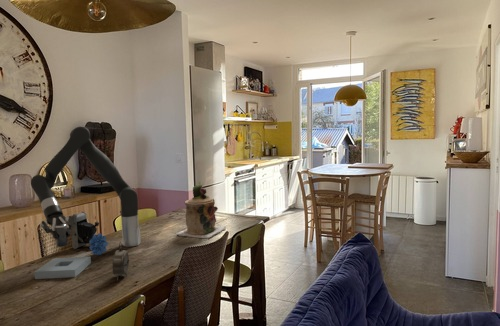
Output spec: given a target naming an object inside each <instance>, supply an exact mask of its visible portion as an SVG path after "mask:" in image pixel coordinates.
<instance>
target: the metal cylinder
mask: <svg viewBox="0 0 500 326" xmlns="http://www.w3.org/2000/svg"><path fill="white" fill-rule="evenodd" d="M66 224H67V222H66V223H59V224H55V231H56V233H57V235H58V239H57V240H56V239H55V245H56V247H65V246H68V237H67V227H66Z"/></svg>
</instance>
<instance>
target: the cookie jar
mask: <svg viewBox="0 0 500 326" xmlns="http://www.w3.org/2000/svg"><path fill="white" fill-rule="evenodd" d="M192 194H193V197H192V198H190V199H187V200H185V202H184V204H185V210H186V211H185V226H186V228H185V229H184V230H181V231H178V232H176V233H175V234H176V236H179V237H188V238H198V239H199V238H201V239H209V238H211V237H213V236H215V235H217V234H219V233H220V232H222V231H224V230H226V228H227V225H216V222H217V219H216V212H217V211H218V209H219V208H218V207H217V206H215V199H214V198H211V197H210V196H209V195H207V189H206V188H204V187H203V183H202V182H201V181H200V182H199V183H197V185H194V186H193V187H192Z"/></svg>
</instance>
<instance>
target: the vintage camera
mask: <svg viewBox="0 0 500 326" xmlns="http://www.w3.org/2000/svg"><path fill="white" fill-rule="evenodd" d="M71 217H72V227H71V229H70V231H71V246H72V248H73V249H74V250H77V249H79V248H80V247H84V246H85V245H87V244H88V245H91V244H90V243H89V242H90V240H91V239H92V237H93V235H96V233H97V231H98V228H97V227H99V224H100V222H98V221H95V222H94V224H93V223H91V222H88V220H87V219H88V217H87V213H86V212H85V211H82V212H80V213H76V214H72V215H71Z"/></svg>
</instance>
